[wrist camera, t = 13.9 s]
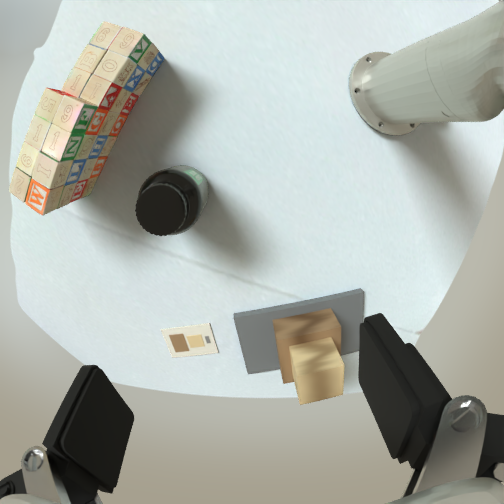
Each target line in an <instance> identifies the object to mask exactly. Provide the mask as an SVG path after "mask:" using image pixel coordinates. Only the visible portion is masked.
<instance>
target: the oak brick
mask: <svg viewBox="0 0 504 504" xmlns="http://www.w3.org/2000/svg"><path fill="white" fill-rule="evenodd" d="M289 349H290V357H291V365H292V373H293V378H294V382H295V386H296V390H297V394H298V398H299V403H300V405H302V404H307V403H311V402H315V401H320V400H323V399H328V398H332V397H336V396H339V395H343V384H344V363H343V361H342V359H341V357H340V354H339V352H338V350H337V348H336V346H335V344H334V342H333V340H332V338H331V337H329V338H325V339H321V340H316V341H312V342H307V343H303V344H298V345H293V346H289Z"/></svg>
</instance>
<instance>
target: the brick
mask: <svg viewBox="0 0 504 504" xmlns="http://www.w3.org/2000/svg"><path fill="white" fill-rule="evenodd" d="M272 321H273V327H274V333H275V340H276V346H277V352H278V359H279V364H280V369H281V374H282V379H283V384H285V383H290V382H294V378H293V373H292V365H291V357H290V349H289V346H293V345H298V344H303V343H307V342H312V341H316V340H321V339H325V338H329V337H331V338H332V340H333V342H334V344H335V346H336V348H337V350H338V352H339V354H340V357H341V325H340V324H339V322H338V320H337V318H336V316H335V315H334V313H333V311H332V309H331V308H329V309H324V310H319V311H315V312H310V313H305V314H300V315H295V316H290V317H285V318H280V319H274V320H272Z"/></svg>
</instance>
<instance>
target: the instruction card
mask: <svg viewBox="0 0 504 504" xmlns="http://www.w3.org/2000/svg"><path fill="white" fill-rule="evenodd" d="M161 331H162V334H163V336H164V339H165V341H166V344H167V346H168V348H169V351H170V353H171V355H172V358H176V357H186V356H195V355H204V354H212V353H218V349H217V346H216V343H215V340H214V337H213V333H212V330H211V327H210V323H205V324H198V325H190V326H183V327H175V328H167V329H161Z"/></svg>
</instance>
